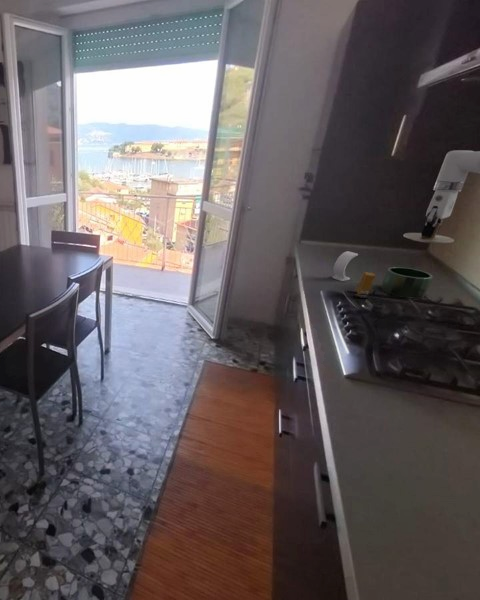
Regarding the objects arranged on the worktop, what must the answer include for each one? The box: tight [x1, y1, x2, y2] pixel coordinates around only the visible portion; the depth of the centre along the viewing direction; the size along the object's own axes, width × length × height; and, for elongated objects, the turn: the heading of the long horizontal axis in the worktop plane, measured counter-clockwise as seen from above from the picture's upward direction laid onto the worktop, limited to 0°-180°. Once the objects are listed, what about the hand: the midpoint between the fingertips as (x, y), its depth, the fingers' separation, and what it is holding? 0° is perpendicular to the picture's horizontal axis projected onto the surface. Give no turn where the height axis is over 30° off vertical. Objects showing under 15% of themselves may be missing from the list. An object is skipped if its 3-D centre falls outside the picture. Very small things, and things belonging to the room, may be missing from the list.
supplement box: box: [355, 271, 377, 296], centre depth 139 cm, size 3×3×10 cm
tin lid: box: [403, 223, 455, 245], centre depth 138 cm, size 15×15×7 cm
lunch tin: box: [380, 266, 434, 300], centre depth 144 cm, size 14×14×8 cm
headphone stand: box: [331, 250, 359, 282], centre depth 157 cm, size 5×6×12 cm
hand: (429, 235), depth 138 cm, fingers closed on tin lid, 4 cm apart
